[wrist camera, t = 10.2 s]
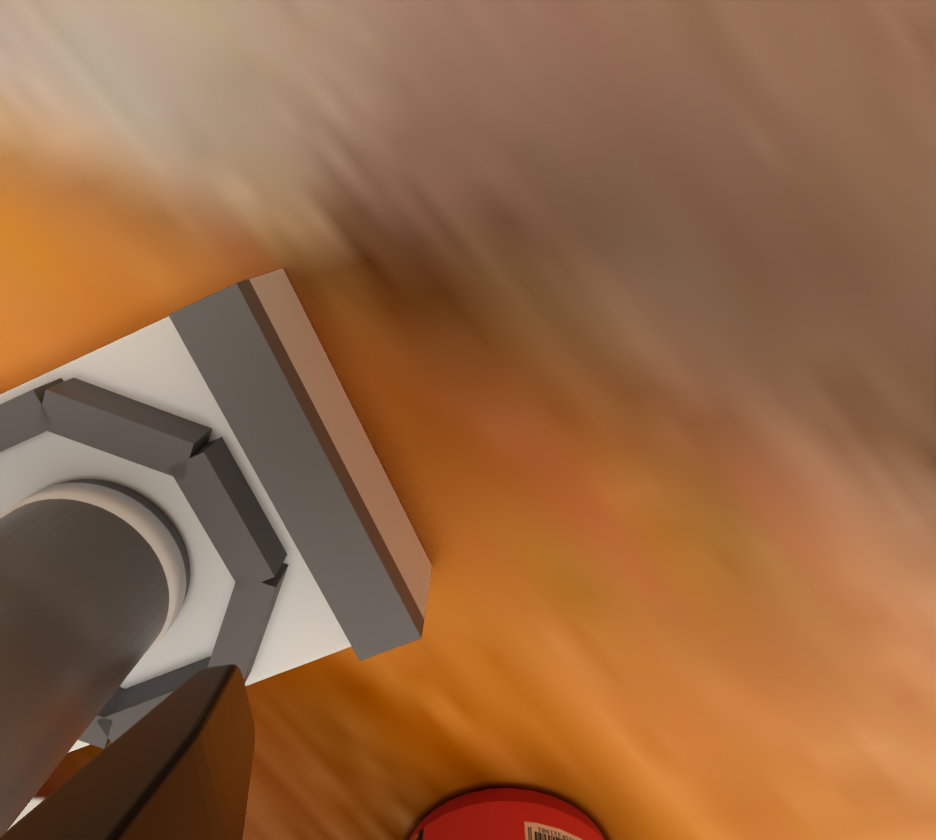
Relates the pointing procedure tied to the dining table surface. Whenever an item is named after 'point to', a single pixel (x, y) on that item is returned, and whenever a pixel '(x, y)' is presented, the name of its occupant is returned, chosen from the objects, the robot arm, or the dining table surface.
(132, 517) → the gray tumbler
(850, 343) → the dining table surface
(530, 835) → the canned food
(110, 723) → the square flange plate
